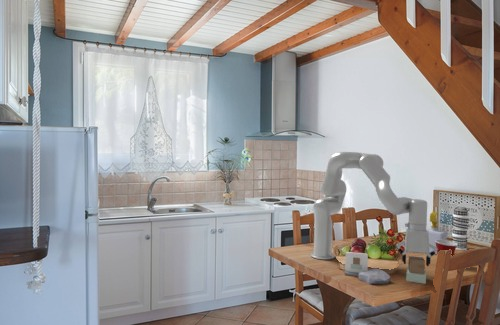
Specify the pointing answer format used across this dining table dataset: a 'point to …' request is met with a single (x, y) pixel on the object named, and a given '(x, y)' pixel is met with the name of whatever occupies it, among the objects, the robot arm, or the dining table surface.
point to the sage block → (416, 277)
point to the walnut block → (416, 265)
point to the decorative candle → (460, 227)
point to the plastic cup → (445, 245)
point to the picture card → (355, 263)
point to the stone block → (374, 276)
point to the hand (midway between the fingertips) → (415, 264)
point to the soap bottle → (435, 232)
